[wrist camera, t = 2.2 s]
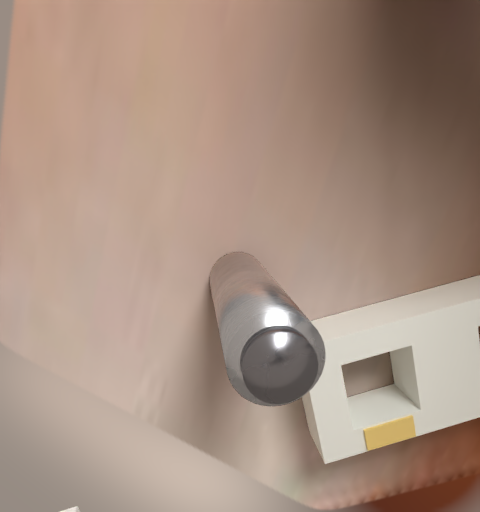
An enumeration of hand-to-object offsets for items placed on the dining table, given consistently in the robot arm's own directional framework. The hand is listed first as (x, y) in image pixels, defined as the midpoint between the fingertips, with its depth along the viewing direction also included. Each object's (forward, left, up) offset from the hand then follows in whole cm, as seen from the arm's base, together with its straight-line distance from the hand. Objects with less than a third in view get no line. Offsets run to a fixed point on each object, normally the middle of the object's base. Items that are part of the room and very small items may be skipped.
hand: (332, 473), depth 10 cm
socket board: (+10, +14, -20) cm, 27 cm away
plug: (0, 0, -20) cm, 21 cm away
